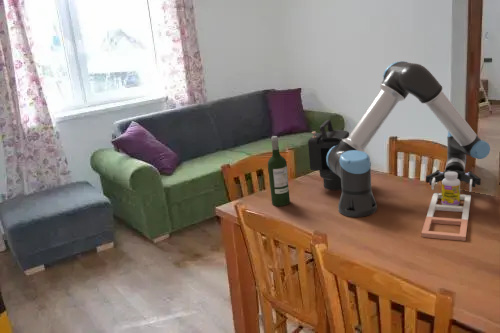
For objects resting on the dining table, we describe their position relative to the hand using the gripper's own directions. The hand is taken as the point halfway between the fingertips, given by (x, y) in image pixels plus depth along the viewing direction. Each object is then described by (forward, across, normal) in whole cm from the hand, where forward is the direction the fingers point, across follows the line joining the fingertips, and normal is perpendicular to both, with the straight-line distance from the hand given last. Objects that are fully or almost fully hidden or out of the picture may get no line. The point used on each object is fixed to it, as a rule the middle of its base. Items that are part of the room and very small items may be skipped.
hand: (451, 187), depth 188 cm
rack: (+10, 0, -8) cm, 13 cm away
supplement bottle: (-2, 0, -8) cm, 8 cm away
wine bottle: (+9, +68, -8) cm, 69 cm away
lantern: (-16, +52, -8) cm, 54 cm away
